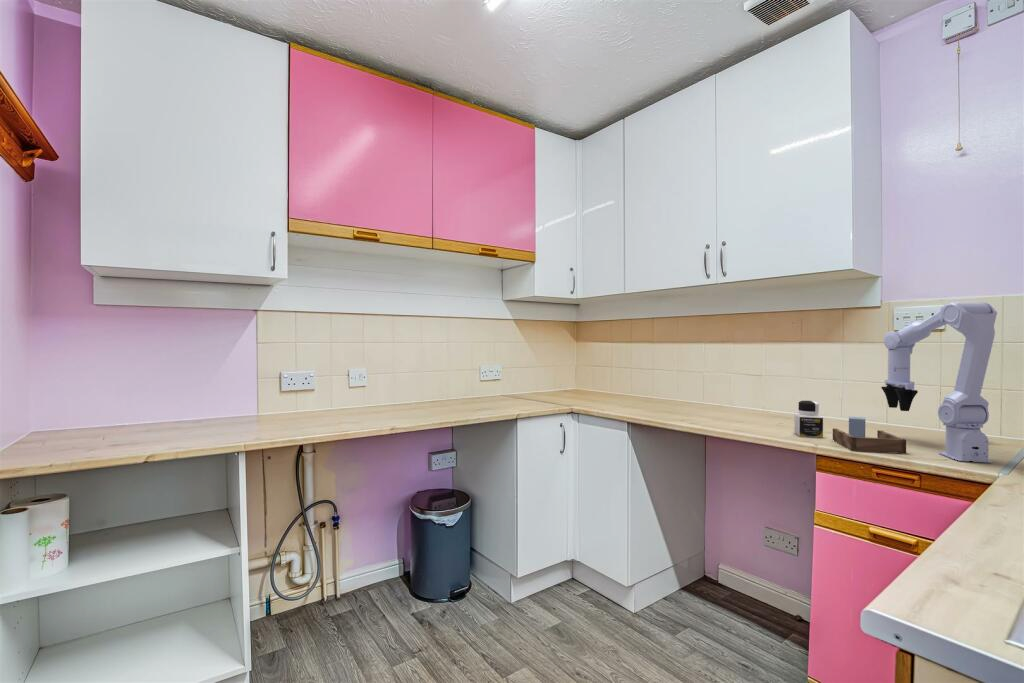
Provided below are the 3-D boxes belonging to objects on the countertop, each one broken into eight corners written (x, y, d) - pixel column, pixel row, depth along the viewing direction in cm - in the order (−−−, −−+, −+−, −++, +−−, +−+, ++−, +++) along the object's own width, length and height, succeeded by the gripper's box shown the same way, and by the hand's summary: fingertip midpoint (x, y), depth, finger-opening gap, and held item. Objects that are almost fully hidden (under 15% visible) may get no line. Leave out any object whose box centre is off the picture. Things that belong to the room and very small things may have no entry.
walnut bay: (906, 453, 143) (906, 440, 143) (851, 450, 147) (851, 437, 147) (881, 442, 158) (881, 430, 158) (832, 440, 161) (832, 428, 161)
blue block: (865, 440, 161) (865, 419, 161) (848, 439, 164) (848, 418, 164) (864, 438, 165) (865, 417, 165) (848, 436, 167) (848, 416, 167)
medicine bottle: (799, 436, 168) (799, 401, 167) (794, 432, 174) (794, 399, 174) (823, 438, 165) (823, 402, 165) (816, 434, 172) (817, 400, 172)
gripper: (925, 369, 153) (925, 413, 153) (901, 367, 167) (901, 406, 167) (899, 369, 155) (899, 412, 155) (878, 366, 169) (877, 405, 169)
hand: (898, 409), depth 161 cm, fingers open, 7 cm apart
